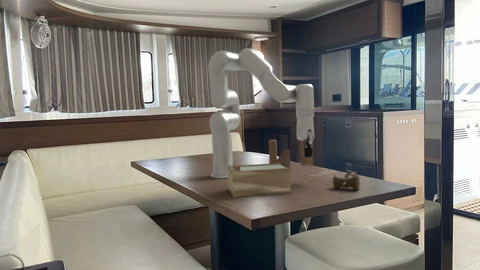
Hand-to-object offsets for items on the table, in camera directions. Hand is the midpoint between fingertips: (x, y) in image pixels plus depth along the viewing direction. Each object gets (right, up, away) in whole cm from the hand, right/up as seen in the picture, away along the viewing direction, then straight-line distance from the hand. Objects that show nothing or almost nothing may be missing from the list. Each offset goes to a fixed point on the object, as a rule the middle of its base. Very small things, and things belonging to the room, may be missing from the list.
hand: (306, 156), depth 157 cm
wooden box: (-21, -13, -12) cm, 28 cm away
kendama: (+15, -12, -10) cm, 22 cm away
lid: (-21, -5, -13) cm, 25 cm away
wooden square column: (0, -4, 0) cm, 4 cm away
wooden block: (-11, -12, +7) cm, 18 cm away
